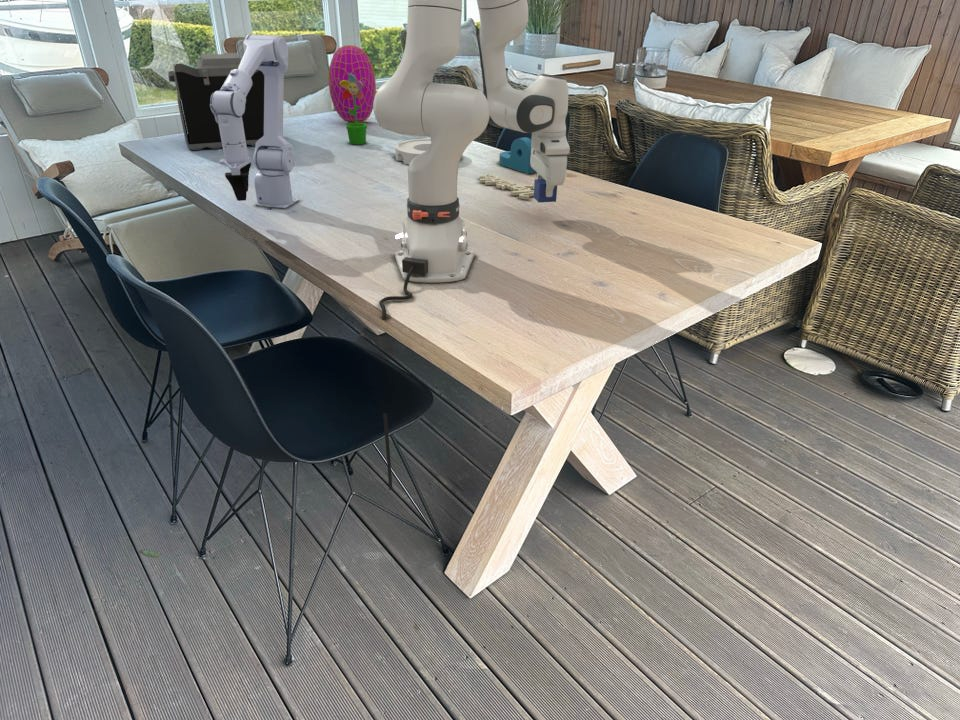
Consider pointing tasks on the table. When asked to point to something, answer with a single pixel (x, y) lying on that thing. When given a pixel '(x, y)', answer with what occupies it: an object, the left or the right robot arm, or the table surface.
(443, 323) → the table surface
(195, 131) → the electronic device
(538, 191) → the block
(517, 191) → the decorative sign
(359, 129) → the potted flower
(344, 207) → the table surface
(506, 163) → the teal clevis bracket
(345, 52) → the decorative egg
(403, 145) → the ashtray
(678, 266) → the table surface
